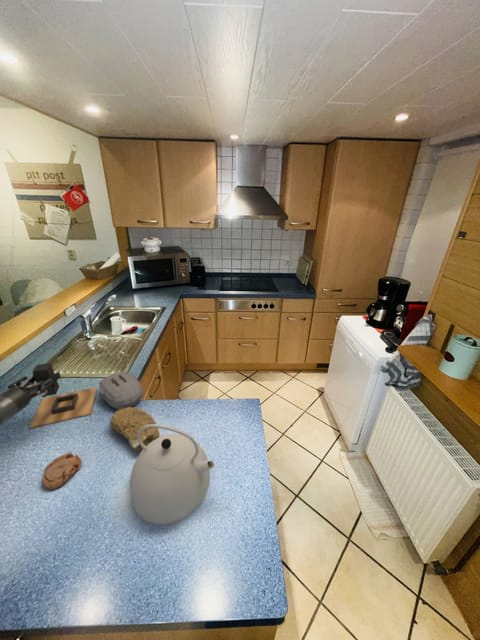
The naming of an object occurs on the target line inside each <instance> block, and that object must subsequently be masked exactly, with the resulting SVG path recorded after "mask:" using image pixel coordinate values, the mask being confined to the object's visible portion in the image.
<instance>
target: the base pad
mask: <svg viewBox="0 0 480 640" xmlns="http://www.w3.org/2000/svg"><path fill="white" fill-rule="evenodd" d="M96 395H97V387H91V388H87V389H82V390H77V391H76V390H75V391H72V392H71V391H70V392H67V393H62V394H55V395H50V396H46V397H41V398H42V399H41V400H40V403H39V405H38V407H37V409H36V411H35V414H34V416H33V418H32V420H31V422H30V425H29V426H28V428H29V430H31V429H36V428H40V427H44V426H48V425H53V424H57V423H61V422H65V421H69V420H75V419H78V418H82V417H87V416H91V415H92V414H93V409H94V405H95V400H96Z"/></svg>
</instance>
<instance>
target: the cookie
mask: <svg viewBox="0 0 480 640" xmlns="http://www.w3.org/2000/svg"><path fill="white" fill-rule="evenodd" d="M81 467H82V459H81V457H80V456H79V455H78V454H75V455H74V453H73V452H66V453H64V454H63V455H60V456H58V457H56V458H54V459H53V460H52V461H51V462H49V464H47V465H46V466H45V468H44V473H43V476H42V484H43V486H44V488H45V489H46V490H55V489H58V488H61V487H62V486H63V485H64V484H65V483H68V482H69V481H70V479H71V478H72V477H73V475H74V474H75V473H76V472H77V471H79V469H81Z"/></svg>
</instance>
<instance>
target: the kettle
mask: <svg viewBox="0 0 480 640" xmlns="http://www.w3.org/2000/svg"><path fill="white" fill-rule="evenodd" d="M146 428H158V429H162V430H166V431H171V432H174V433H167V434H164V435H160V436H159V438H157V439H155V440H153V441H152V442H151V443H149V444H148V445H147V446H145V445H144V444H143V443H142V441H141V439H140V433H141V431H142V430H144V429H146ZM137 440H138V442H139V444H140V446H141V447H142V448H143V449H141V452H140V453H139V454H138V456H137V458H136V459H135V462H134V464H133V466H132V468H131V469H132V470H131V473H130V478H129V491H130V497H131V502H132V506H133V508H134V511H135V512H136V514H137V515H138V516H139V517H140V518H141V519H143V520H144V521H146V522H148V523H151V524H154V525H170V524H174V523H176V522H179V521H182V520H183V519H185V518H186V517H188V516H189V515H191V514H192V513H193V512H194V511H195V510H197V508H198V507H199V506H200V505H201V503H202V502H203V500H204V499H205V497H206V495H207V492H208V491H209V490H208V489H209V487H210V481H211V473H210V470H213V469H215V466H216V465H215V463H214V461H212V460H208V458H207V454H206V452H205V450H204V449H203V447H202V446H201V444H199V442H197V441H196V439H195V438H193V436H191V435H190V434H188V433H187V432H185V431H183V430H181V429H178V428H175V427H172V426H168V425H163V424H157V423H156V424H149V425H145V426H143V427H141V428H140V429H139V430H138V433H137Z"/></svg>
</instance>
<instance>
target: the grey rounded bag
mask: <svg viewBox="0 0 480 640" xmlns="http://www.w3.org/2000/svg"><path fill="white" fill-rule="evenodd" d="M98 384H99V389H98V391H99V392H98V393H99V395H100V397H101V398H102V400H105V402H106V403H107V404H108V405H109V406H110V407H112V408H113V409H116V411H118V410H120V409H123V408H127V407H132V408H133V407H134V406H136V405H137V404H139V402H141V400H142V397H143V396H144V390H143V388H142V385H141V383H140V381H139V379H138V378H137V376H136V375H135V374H133V373H130V372H126V371H123V370H122V371H118V372H114V373H112V374H110V375H108V376H106V377H104V378H103V379H101V380H100V381H99V383H98Z"/></svg>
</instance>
